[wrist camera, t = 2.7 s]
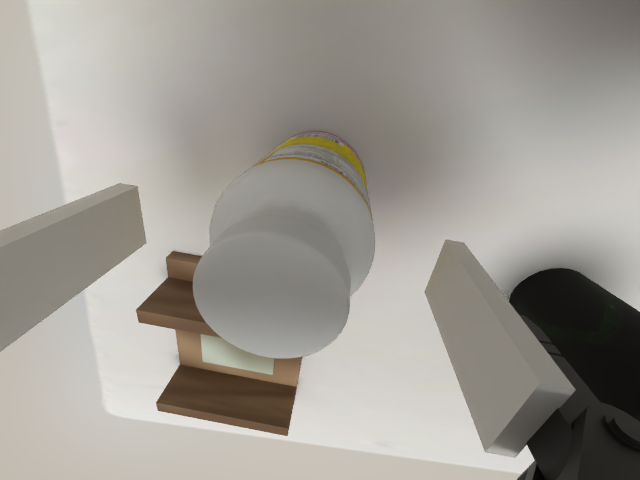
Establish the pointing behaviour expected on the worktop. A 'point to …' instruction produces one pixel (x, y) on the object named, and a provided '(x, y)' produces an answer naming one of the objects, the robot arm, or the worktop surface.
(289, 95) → the worktop surface
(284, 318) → the supplement bottle
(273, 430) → the holder
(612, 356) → the cup
